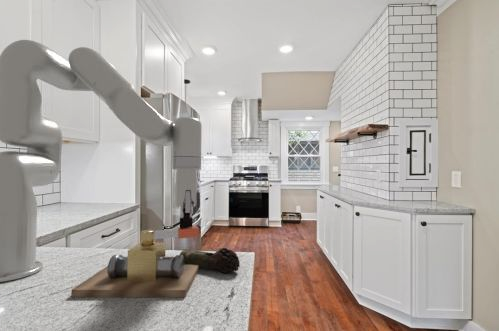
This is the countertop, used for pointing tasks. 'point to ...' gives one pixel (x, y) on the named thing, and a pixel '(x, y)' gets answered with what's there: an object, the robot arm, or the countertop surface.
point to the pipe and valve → (145, 264)
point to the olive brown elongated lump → (212, 259)
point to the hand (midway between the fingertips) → (185, 232)
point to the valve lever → (167, 234)
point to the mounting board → (136, 285)
